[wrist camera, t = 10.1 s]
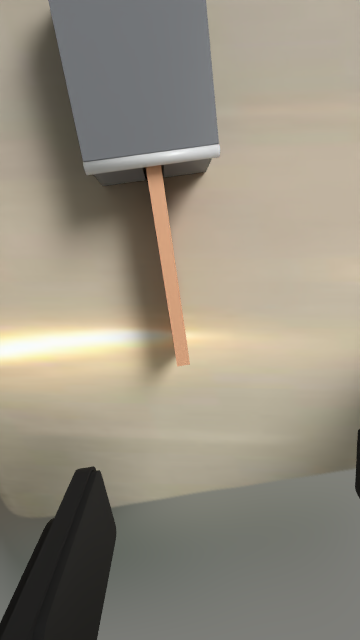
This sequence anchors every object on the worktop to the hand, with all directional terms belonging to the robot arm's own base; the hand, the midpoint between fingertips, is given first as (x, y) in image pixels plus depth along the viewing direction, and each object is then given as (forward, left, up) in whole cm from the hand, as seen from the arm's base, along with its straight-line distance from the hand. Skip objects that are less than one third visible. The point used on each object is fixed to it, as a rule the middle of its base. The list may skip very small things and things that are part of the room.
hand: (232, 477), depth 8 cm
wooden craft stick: (+1, -8, -18) cm, 19 cm away
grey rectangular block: (+1, -23, -19) cm, 29 cm away
